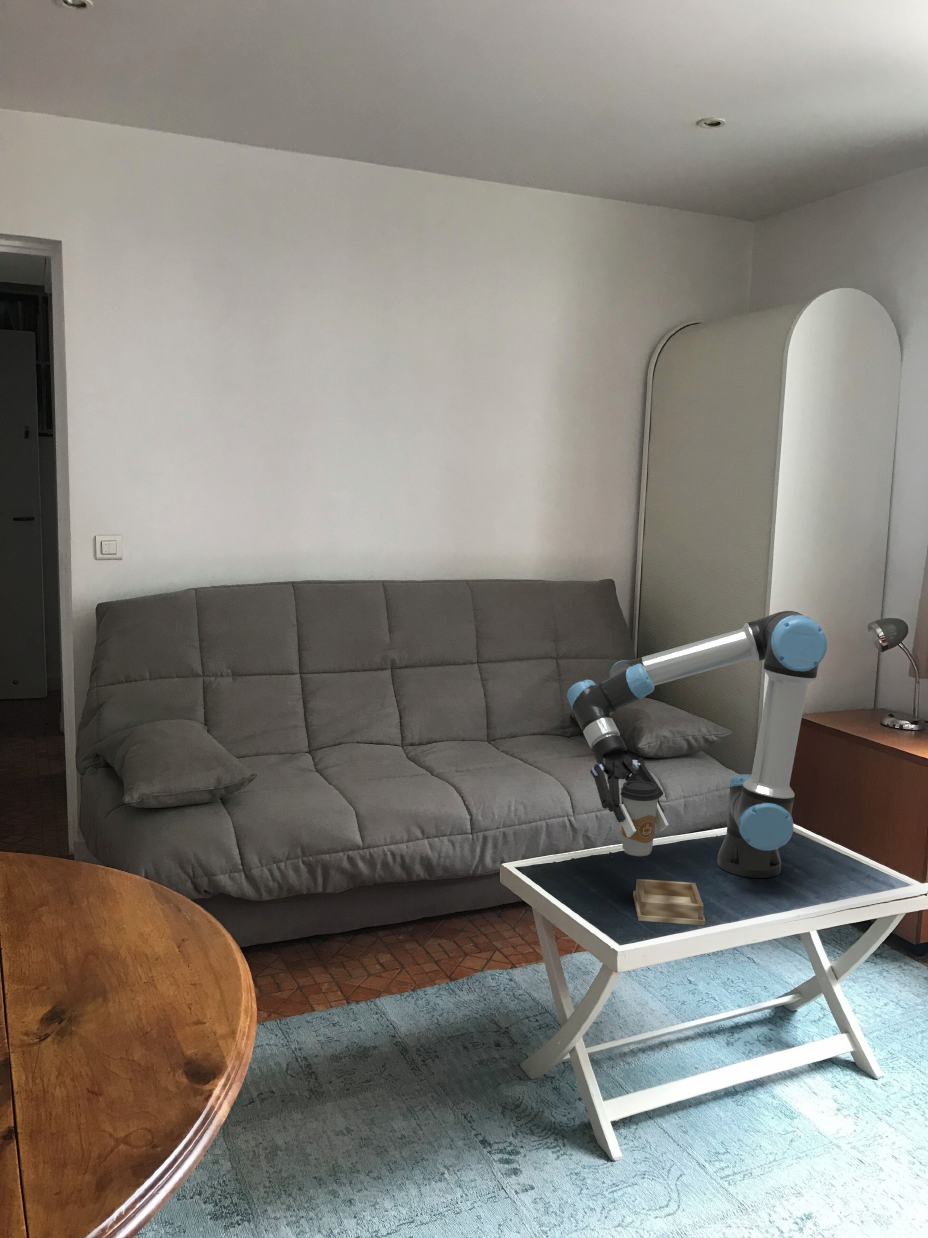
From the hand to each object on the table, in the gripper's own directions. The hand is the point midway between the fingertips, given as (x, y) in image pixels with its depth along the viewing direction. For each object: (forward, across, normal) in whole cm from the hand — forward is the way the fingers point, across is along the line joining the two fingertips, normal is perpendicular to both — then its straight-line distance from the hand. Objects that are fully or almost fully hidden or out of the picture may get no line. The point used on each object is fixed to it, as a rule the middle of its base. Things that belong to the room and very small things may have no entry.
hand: (648, 831), depth 216 cm
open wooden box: (+14, -5, -11) cm, 18 cm away
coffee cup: (+2, 0, -6) cm, 7 cm away
